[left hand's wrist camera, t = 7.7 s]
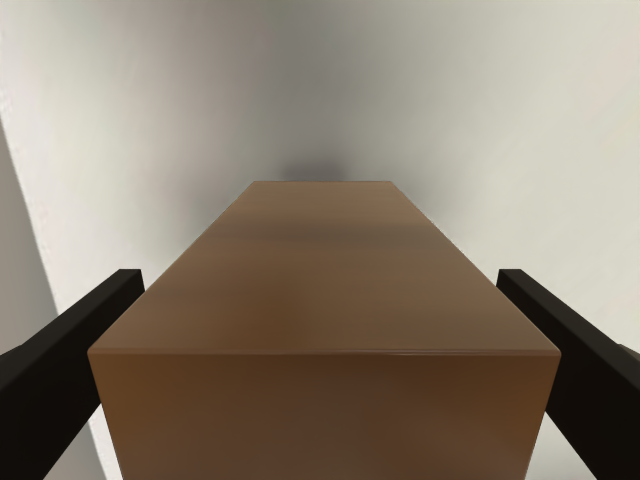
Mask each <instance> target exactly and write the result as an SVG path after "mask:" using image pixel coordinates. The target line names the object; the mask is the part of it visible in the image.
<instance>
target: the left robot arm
mask: <svg viewBox="0 0 640 480" xmlns="http://www.w3.org/2000/svg"><path fill="white" fill-rule="evenodd" d="M496 287H497V288H498V289H499V290H500V291H501V292H502V293H503V294H504V295H505V296H506V297H507V298H508V299H509V300H510V301H511V302H512V303H513V304H514V305H515V306H516V307H517V308H518V309H519V310H520V311H521V312H522V313H523V314H524V315H525V316H526V317H527V318H528V319H529V320H530V321H531V322H532V323H533V324H534V325H535V326H536V327H537V328H538V329H539V330H540V331H541V332H542V333H543V334H544V335H545V336H546V337H547V338H548V339H549V340H550V341H551V342H552V343H553V344H554V345H555V346H556V347H557V348H558V349H559V350H560V352H561V358H560V362H559V365H558V369H557V372H556V375H555V379H554V382H553V385H552V389H551V392H550V395H549V399H548V402H547V406H546V409H545V412H546V413H547V414H548V415H549V417H550V418H551V419H552V421H553V422H554V423H555V425H556V426H557V427H558V429H559V430H560V431H561V433H562V434H563V435H564V437H565V438H566V439H567V441H568V442H569V443H570V445H571V446H572V447H573V449H574V450H575V451H576V452H577V454H578V455H579V456H580V458H581V459H582V460H583V462H584V463H585V464H586V466H587V467H588V468H589V470H590V471H591V472H592V474H593V475H594V476H595V478H596V479H597V480H640V354H639V353H637V352H635V351H633V350H631V349H629V348H627V347H625V346H623V345H622V344H617V343H615V342H614V341H613V340H611V339H610V338H609V337H608V336H606V335H605V334H604V333H602V332H601V331H600V330H599V329H597V328H596V327H595V326H593V325H592V324H591V323H589V322H588V321H587V320H586V319H584V318H583V317H582V316H580V315H579V314H578V313H577V312H575V311H574V310H573V309H571V308H570V307H569V306H568V305H566V304H565V303H564V302H562V301H561V300H560V299H559V298H557V297H556V296H555V295H553V294H552V293H551V292H549V291H548V290H547V289H546V288H544V287H543V286H542V285H540V284H539V283H538V282H537V281H535V280H534V279H533V278H531V277H530V276H529V275H528V274H526V273H525V272H524V271H522V270H521V269H499V273H498V278H497V283H496ZM144 292H145V288H144V283H143V278H142V273H141V269H119V270H118V271H116V272H115V273H114V274H112V275H111V276H110V277H109V278H107V279H106V280H105V281H103V282H102V283H101V284H100V285H98V286H97V287H96V288H94V289H93V290H92V291H91V292H89V293H88V294H87V295H85V296H84V297H83V298H82V299H80V300H79V301H78V302H76V303H75V304H74V305H72V306H71V307H70V308H69V309H67V310H66V311H65V312H63V313H62V314H61V315H60V316H58V317H57V318H56V319H54V320H53V321H52V322H51V323H49V324H48V325H47V326H45V327H44V328H43V329H41V330H40V331H39V332H38V333H36V334H35V335H34V336H33V337H31V338H30V339H29V340H27V341H26V342H25V343H23V344H22V345H20V346H18V347H16V348H14V349H12V350H10V351H8V352H6V353H4V354H2V355H0V480H43V479H44V478H45V476H46V475H47V474H48V472H49V471H50V470H51V468H52V467H53V466H54V464H55V463H56V462H57V460H58V459H59V458H60V456H61V455H62V454H63V452H64V451H65V450H66V449H67V447H68V446H69V445H70V443H71V442H72V441H73V439H74V438H75V437H76V435H77V434H78V433H79V431H80V430H81V429H82V427H83V426H84V425H85V423H86V422H87V421H88V419H89V418H90V417H91V416H92V414H93V413H94V412H95V410H96V409H97V408H98V406H99V405H100V404H101V401H100V397H99V393H98V390H97V386H96V383H95V379H94V376H93V372H92V369H91V365H90V362H89V358H88V355H87V351H88V349H89V348H90V347H91V346H92V345H93V344H94V343H95V342H96V341H97V340H98V339H99V338H100V337H101V336H102V335H103V334H104V332H105V331H106V330H107V329H108V328H109V327H110V326H111V325H112V324H113V323H114V322H115V321H116V320H117V319H118V318H119V317H120V316H121V315H122V314H123V313H124V312H125V311H126V310H127V309H128V308H129V307H130V306H131V305H132V304H133V303H134V302H135V301H136V300H137V299H138V298H139V297H140V296H141V295H142V294H143V293H144Z"/></svg>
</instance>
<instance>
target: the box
mask: <svg viewBox="0 0 640 480" xmlns="http://www.w3.org/2000/svg"><path fill="white" fill-rule="evenodd" d="M87 355H88V358H89V362H90V365H91V369H92V372H93V376H94V379H95V383H96V386H97V390H98V393H99V397H100V401H101V404H102V408H103V411H104V415H105V418H106V422H107V425H108V429H109V432H110V436H111V439H112V443H113V446H114V450H115V453H116V457H117V460H118V464H119V467H120V471H121V474H122V478H123V480H525V476H526V473H527V470H528V466H529V463H530V459H531V456H532V453H533V449H534V446H535V443H536V439H537V436H538V433H539V429H540V426H541V422H542V419H543V416H544V412H545V409H546V406H547V402H548V399H549V395H550V392H551V389H552V385H553V382H554V379H555V375H556V372H557V369H558V365H559V362H560V358H561V352H560V350H559V349H558V348H557V347H556V346H555V345H554V344H553V343H552V342H551V341H550V340H549V339H548V338H547V337H546V336H545V335H544V334H543V333H542V332H541V331H540V330H539V329H538V328H537V327H536V326H535V325H534V324H533V323H532V322H531V321H530V320H529V319H528V318H527V317H526V316H525V315H524V314H523V313H522V312H521V311H520V310H519V309H518V308H517V307H516V306H515V305H514V304H513V303H512V302H511V301H510V300H509V299H508V298H507V297H506V296H505V295H504V294H503V293H502V292H501V291H500V290H499V289H498V288H497V287H496V286H495V285H494V284H493V283H492V282H491V281H490V280H489V279H488V278H487V277H486V276H485V275H484V274H483V273H482V272H481V271H480V270H479V269H478V268H477V267H476V266H475V265H474V264H473V263H472V262H471V261H470V260H469V259H468V258H467V257H466V256H465V255H464V254H463V253H462V252H461V251H460V250H459V249H458V248H457V247H456V246H455V245H454V244H453V243H452V242H451V241H450V240H449V239H448V238H447V237H446V236H445V235H444V234H443V233H442V232H441V231H440V230H439V229H438V228H437V227H436V226H435V225H434V224H433V223H432V222H431V221H430V220H429V219H428V218H427V217H426V216H425V215H424V214H423V213H422V212H421V211H420V210H419V209H418V208H417V207H416V206H415V205H414V204H413V203H412V202H411V201H410V200H409V199H408V198H407V197H406V196H405V195H404V194H403V193H402V192H401V191H400V190H399V189H398V188H397V187H396V186H395V185H394V184H393V183H392V182H390V181H254V182H253V183H252V184H251V185H250V186H249V187H248V188H247V189H246V190H245V191H244V192H243V193H242V194H241V195H240V196H239V197H238V198H237V199H236V200H235V201H234V202H233V203H232V204H231V205H230V206H229V207H228V208H227V209H226V210H225V211H224V212H223V213H222V214H221V215H220V216H219V217H218V218H217V219H216V220H215V221H214V223H213V224H212V225H211V226H210V227H209V228H208V229H207V230H206V231H205V232H204V233H203V234H202V235H201V236H200V237H199V238H198V239H197V240H196V241H195V242H194V243H193V244H192V245H191V246H190V247H189V248H188V249H187V250H186V251H185V252H184V253H183V254H182V255H181V256H180V257H179V258H178V259H177V260H176V261H175V262H174V263H173V264H172V265H171V266H170V267H169V268H168V269H167V270H166V271H165V272H164V273H163V274H162V275H161V276H160V277H159V278H158V279H157V280H156V281H155V282H154V283H153V284H152V285H151V286H150V287H149V288H148V289H147V290H146V291H145V292H144V293H143V294H142V295H141V296H140V297H139V298H138V299H137V300H136V301H135V302H134V303H133V304H132V305H131V306H130V307H129V308H128V309H127V310H126V311H125V312H124V313H123V314H122V315H121V316H120V317H119V318H118V319H117V320H116V321H115V322H114V323H113V324H112V325H111V326H110V327H109V328H108V329H107V330H106V331H105V332H104V334H103V335H102V336H101V337H100V338H99V339H98V340H97V341H96V342H95V343H94V344H93V345H92V346H91V347H90V348H89V349H88V351H87Z"/></svg>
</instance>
